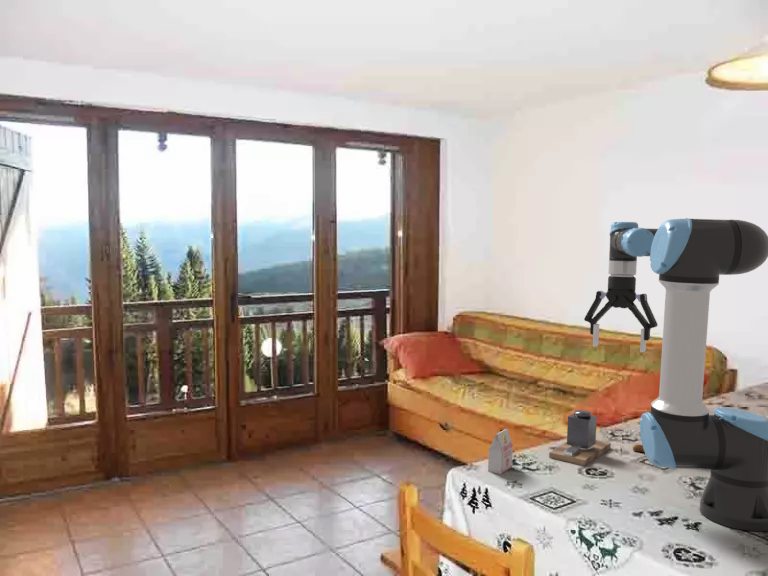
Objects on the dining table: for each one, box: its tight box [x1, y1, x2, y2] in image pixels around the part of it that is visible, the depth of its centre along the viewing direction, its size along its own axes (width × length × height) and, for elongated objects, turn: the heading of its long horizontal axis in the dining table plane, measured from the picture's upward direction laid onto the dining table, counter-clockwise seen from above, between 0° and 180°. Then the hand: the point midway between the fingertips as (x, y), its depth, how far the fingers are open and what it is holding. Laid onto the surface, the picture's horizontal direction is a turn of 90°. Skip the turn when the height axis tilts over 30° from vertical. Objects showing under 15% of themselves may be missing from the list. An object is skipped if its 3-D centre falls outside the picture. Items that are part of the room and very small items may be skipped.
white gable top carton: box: [487, 428, 514, 475], centre depth 170 cm, size 4×7×10 cm, turn 145°
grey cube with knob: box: [566, 409, 598, 449], centre depth 184 cm, size 6×6×9 cm
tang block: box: [548, 439, 612, 467], centre depth 184 cm, size 20×10×6 cm, turn 142°
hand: (618, 348), depth 189 cm, fingers open, 13 cm apart
